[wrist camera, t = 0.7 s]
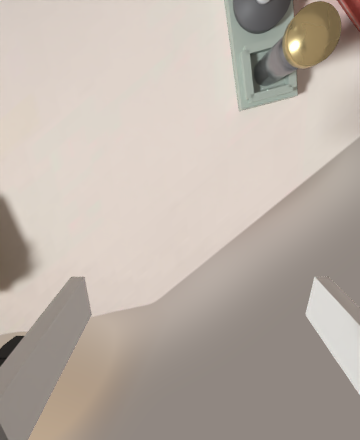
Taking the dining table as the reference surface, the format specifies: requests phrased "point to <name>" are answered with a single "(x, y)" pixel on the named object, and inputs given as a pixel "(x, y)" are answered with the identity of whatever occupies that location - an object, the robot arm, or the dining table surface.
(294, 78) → the base
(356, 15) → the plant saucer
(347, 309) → the robot arm
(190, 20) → the dining table surface
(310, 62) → the pin
